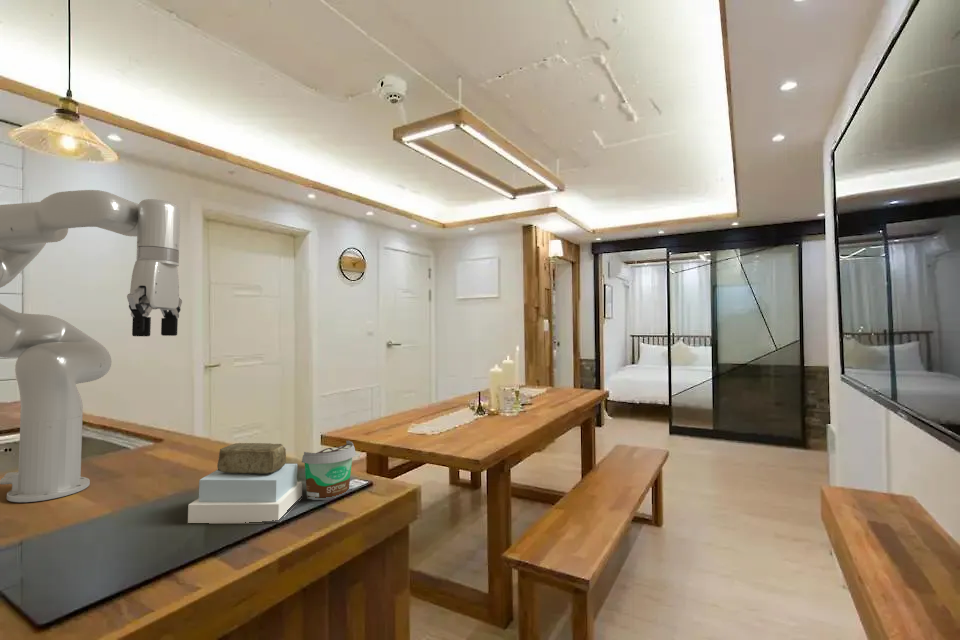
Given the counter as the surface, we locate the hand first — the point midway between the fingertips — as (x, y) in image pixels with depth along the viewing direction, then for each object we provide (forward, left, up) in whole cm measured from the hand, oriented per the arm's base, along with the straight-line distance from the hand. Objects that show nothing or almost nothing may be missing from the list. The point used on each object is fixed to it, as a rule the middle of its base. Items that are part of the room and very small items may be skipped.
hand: (155, 335), depth 97 cm
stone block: (+25, -12, -26) cm, 38 cm away
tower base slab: (+25, -12, -34) cm, 44 cm away
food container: (+40, -6, -34) cm, 53 cm away
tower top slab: (+25, -12, -30) cm, 41 cm away
